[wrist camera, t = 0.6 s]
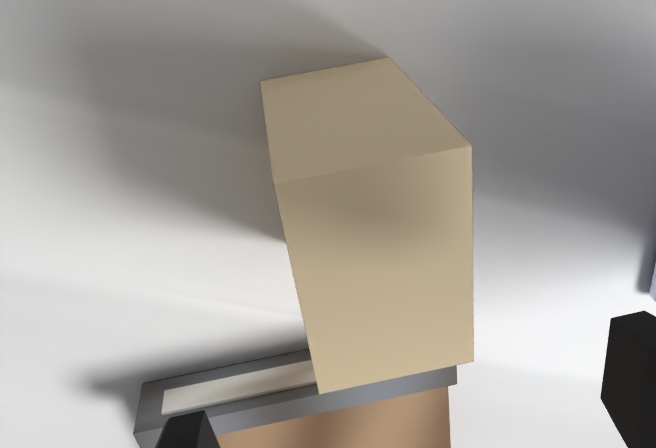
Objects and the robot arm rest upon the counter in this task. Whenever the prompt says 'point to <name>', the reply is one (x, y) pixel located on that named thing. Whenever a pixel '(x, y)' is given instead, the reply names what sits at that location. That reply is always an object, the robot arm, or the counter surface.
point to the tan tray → (301, 407)
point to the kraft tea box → (373, 221)
